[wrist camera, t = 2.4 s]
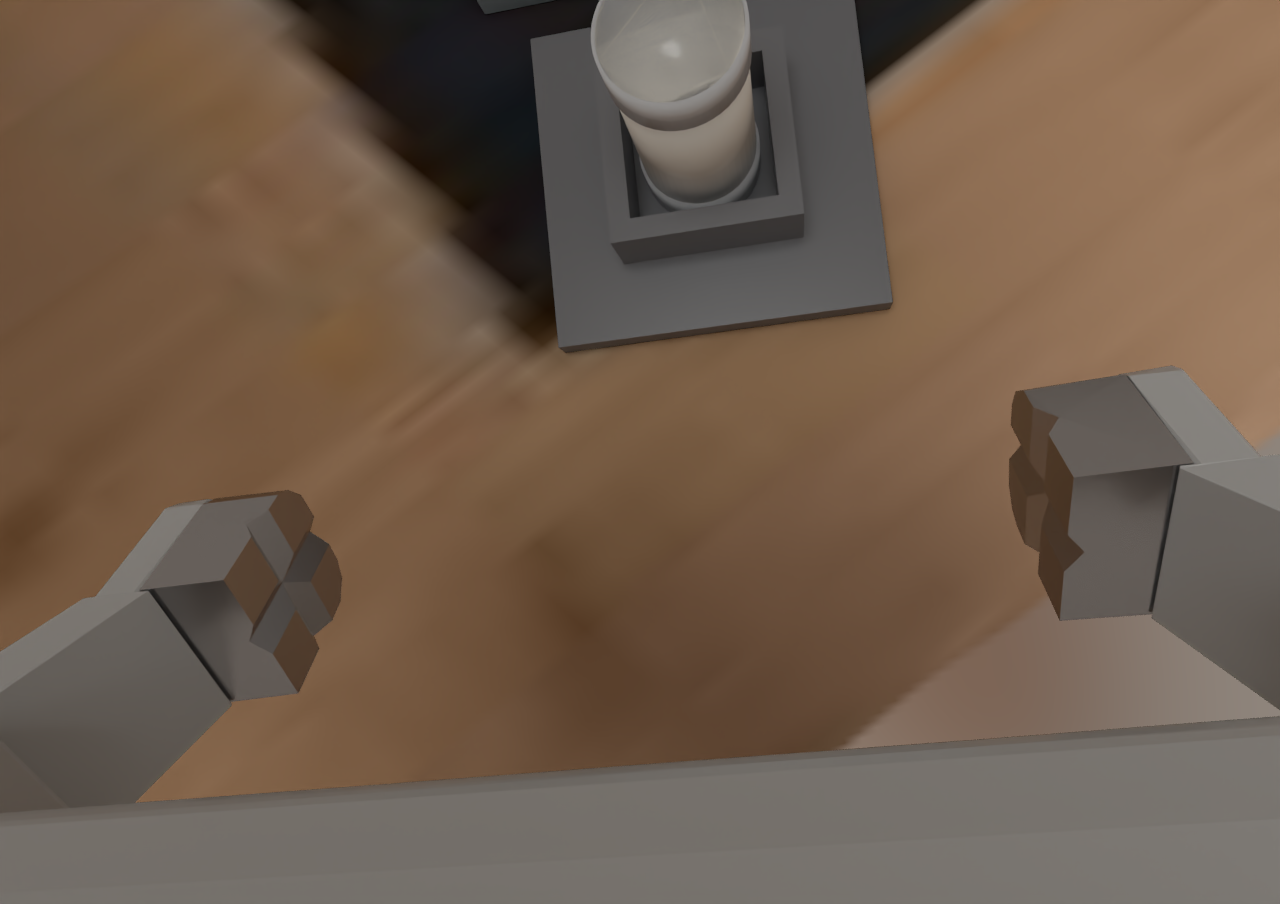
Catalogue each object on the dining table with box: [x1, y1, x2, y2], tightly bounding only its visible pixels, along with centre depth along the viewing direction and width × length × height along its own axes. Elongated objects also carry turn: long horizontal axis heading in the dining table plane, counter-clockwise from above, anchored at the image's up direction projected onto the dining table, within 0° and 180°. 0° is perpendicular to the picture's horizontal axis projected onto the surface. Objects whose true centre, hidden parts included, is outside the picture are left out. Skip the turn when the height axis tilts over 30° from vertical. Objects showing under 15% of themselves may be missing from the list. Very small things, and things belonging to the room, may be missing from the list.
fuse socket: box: [530, 0, 893, 352], centre depth 31 cm, size 12×12×4 cm
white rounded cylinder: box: [591, 0, 761, 212], centre depth 27 cm, size 4×4×9 cm
